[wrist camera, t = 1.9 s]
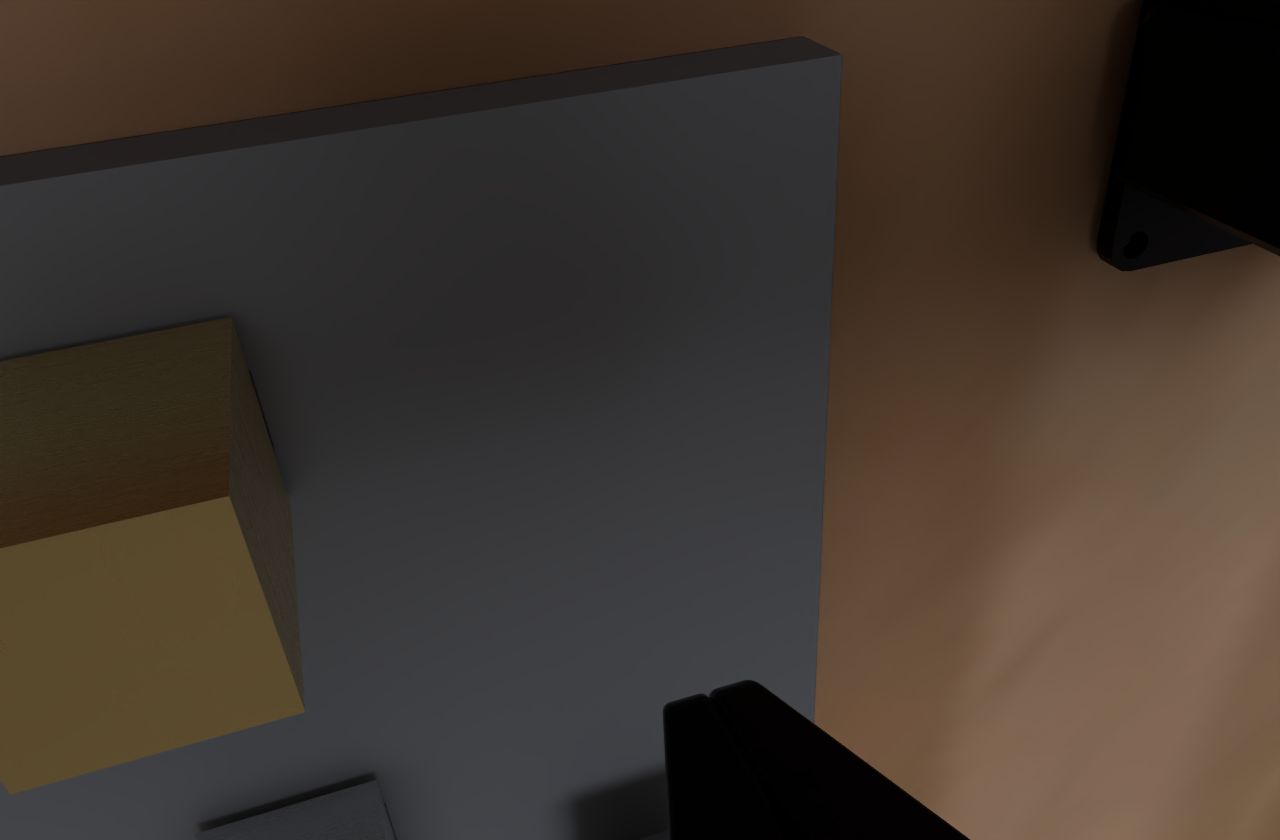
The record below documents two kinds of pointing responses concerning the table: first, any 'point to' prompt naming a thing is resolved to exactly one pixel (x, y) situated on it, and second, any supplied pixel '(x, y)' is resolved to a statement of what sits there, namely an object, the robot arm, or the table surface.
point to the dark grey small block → (658, 836)
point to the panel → (483, 422)
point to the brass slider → (139, 555)
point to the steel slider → (316, 819)
